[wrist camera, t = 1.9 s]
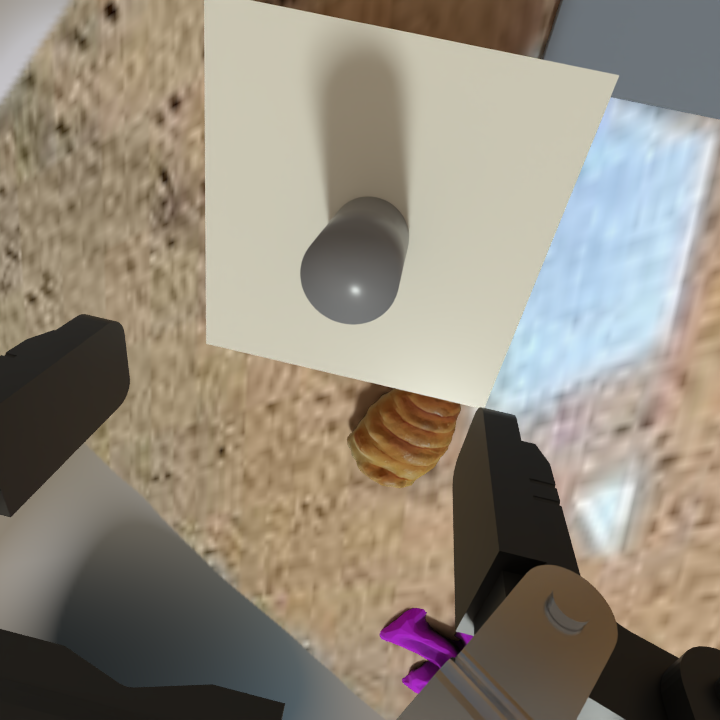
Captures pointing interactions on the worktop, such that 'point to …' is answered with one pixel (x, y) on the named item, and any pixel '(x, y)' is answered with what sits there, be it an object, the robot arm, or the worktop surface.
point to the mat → (645, 49)
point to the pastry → (403, 437)
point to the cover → (381, 194)
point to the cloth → (423, 645)
